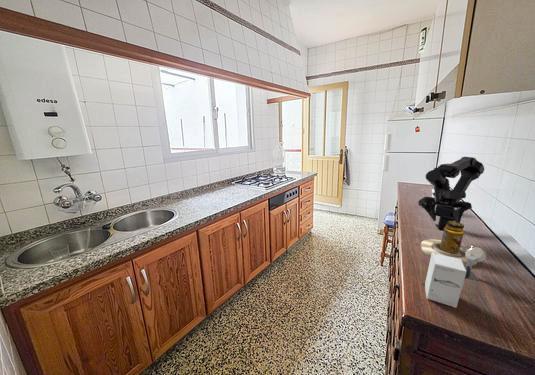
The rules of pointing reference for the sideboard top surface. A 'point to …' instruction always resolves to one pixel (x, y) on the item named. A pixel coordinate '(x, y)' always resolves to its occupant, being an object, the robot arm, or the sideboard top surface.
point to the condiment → (451, 238)
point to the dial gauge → (473, 260)
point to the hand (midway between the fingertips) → (446, 222)
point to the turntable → (429, 249)
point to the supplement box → (445, 279)
